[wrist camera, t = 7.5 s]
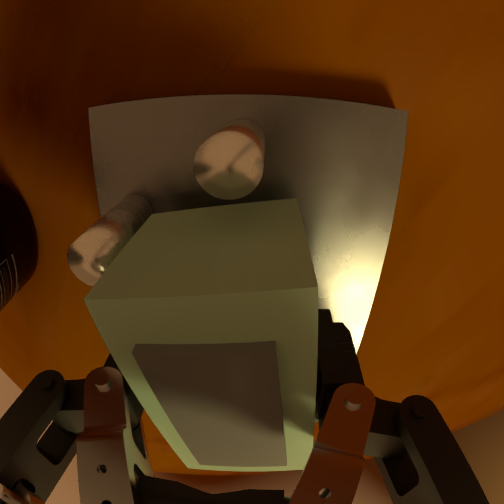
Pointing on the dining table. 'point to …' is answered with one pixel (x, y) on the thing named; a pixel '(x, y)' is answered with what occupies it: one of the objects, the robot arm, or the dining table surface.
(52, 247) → the dining table surface
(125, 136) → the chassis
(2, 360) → the dining table surface
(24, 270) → the supplement bottle
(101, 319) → the block
